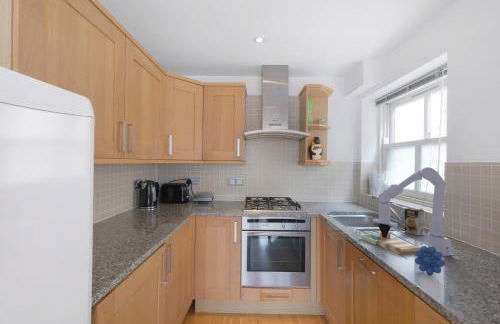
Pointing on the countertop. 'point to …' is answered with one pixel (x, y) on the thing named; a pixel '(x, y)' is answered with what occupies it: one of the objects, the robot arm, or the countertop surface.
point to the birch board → (398, 246)
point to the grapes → (429, 260)
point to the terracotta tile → (384, 238)
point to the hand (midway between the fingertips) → (384, 237)
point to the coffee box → (414, 221)
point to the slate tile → (376, 236)
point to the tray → (370, 238)
